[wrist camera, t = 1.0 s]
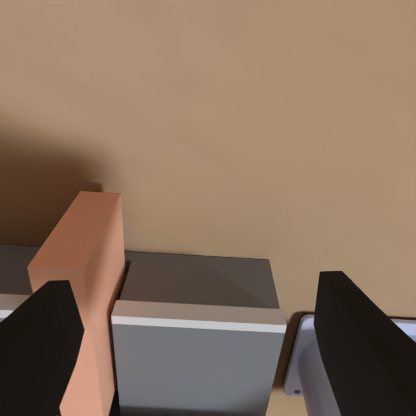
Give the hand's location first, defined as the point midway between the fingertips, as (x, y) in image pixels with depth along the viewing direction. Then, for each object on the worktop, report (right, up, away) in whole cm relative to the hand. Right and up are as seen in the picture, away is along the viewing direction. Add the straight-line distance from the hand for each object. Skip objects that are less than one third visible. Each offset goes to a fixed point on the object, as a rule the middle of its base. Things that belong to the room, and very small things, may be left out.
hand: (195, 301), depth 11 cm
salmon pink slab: (-5, -1, +10) cm, 11 cm away
